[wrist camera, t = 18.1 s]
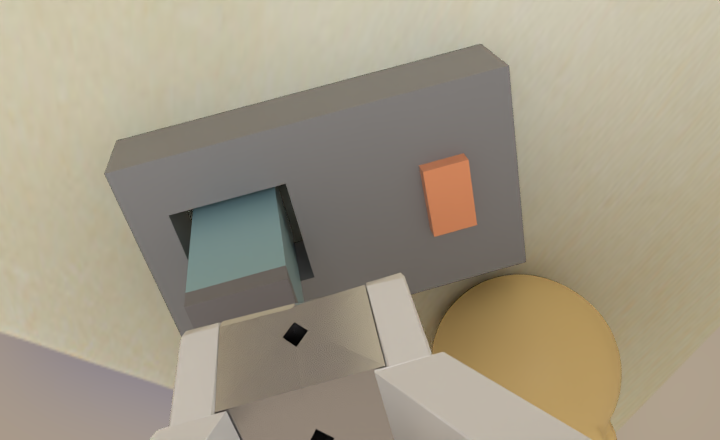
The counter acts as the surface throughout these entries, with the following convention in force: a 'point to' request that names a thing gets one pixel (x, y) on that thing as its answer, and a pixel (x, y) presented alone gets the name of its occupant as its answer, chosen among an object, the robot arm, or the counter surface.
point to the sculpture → (538, 348)
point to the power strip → (346, 177)
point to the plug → (241, 259)
